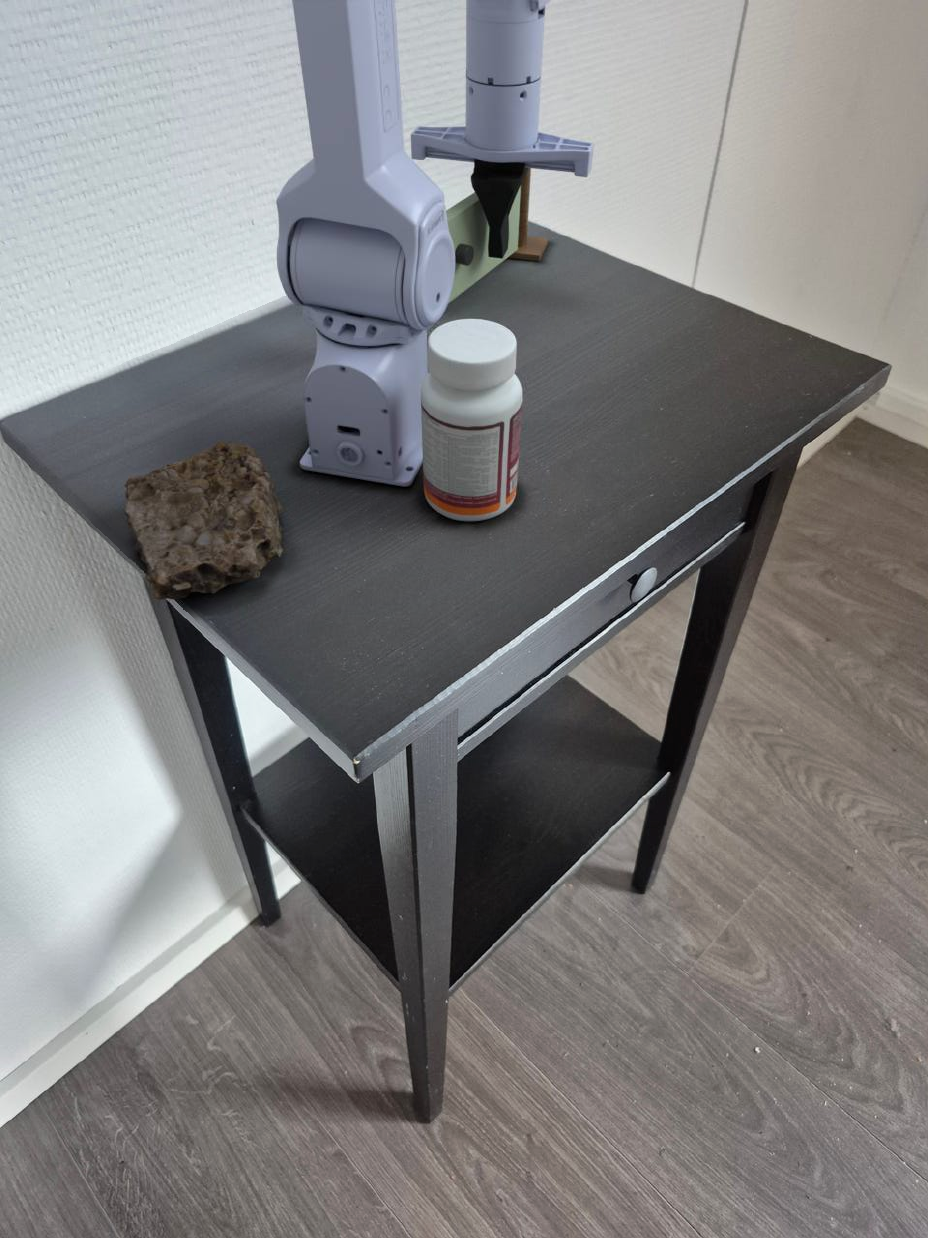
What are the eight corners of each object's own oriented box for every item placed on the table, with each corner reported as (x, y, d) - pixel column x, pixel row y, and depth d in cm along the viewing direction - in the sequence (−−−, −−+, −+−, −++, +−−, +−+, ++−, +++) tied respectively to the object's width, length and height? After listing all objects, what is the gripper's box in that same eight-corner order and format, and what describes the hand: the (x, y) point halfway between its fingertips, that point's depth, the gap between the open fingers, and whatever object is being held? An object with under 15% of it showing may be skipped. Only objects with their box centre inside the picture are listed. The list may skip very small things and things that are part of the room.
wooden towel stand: (539, 261, 84) (547, 145, 76) (487, 255, 85) (490, 140, 77) (547, 243, 86) (556, 130, 79) (497, 238, 87) (501, 125, 80)
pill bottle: (475, 457, 62) (479, 303, 54) (535, 500, 59) (548, 343, 51) (405, 491, 59) (397, 334, 51) (463, 538, 56) (464, 378, 48)
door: (457, 307, 76) (457, 224, 71) (435, 301, 76) (433, 218, 71) (527, 252, 83) (531, 173, 78) (506, 246, 84) (510, 168, 79)
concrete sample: (243, 407, 57) (248, 464, 61) (83, 454, 53) (100, 512, 57) (326, 530, 52) (326, 583, 56) (157, 593, 48) (170, 645, 52)
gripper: (606, 67, 69) (588, 243, 78) (426, 53, 71) (430, 225, 81) (591, 95, 64) (574, 278, 74) (399, 78, 66) (407, 257, 76)
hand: (497, 253), depth 77 cm, fingers closed
